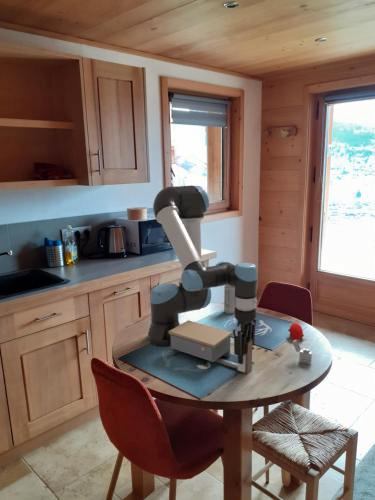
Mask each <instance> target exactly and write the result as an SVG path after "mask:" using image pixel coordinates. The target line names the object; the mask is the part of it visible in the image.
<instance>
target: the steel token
mask: <svg viewBox="0 0 375 500" xmlns="http://www.w3.org/2000/svg"><path fill="white" fill-rule="evenodd" d="M196 367H197V368H198V369H199V370H202V369H203V370H204V369H205V370H208V368H209V367H210V368H211V363H210V361H208V360H201V361H199V362H197V363H196ZM210 368H209V369H210Z"/></svg>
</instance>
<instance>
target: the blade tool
mask: <svg viewBox="0 0 375 500" xmlns="http://www.w3.org/2000/svg"><path fill="white" fill-rule="evenodd" d="M252 347H253V346H252V340H251V339H248V338H246V343H245V353H244V354H245V355H246V364H245V372H242V371H239V370H238V360H237V362H233V361H229V360H226V359H224V358H223V359H222V358H221V357H220V358H219V359H217V360H216V362H215V363H217V362H218V363H217V364H220V363H221V365H223V364H224V365H223V366H226V367H229V368H233V369H236V371H237V372H238V373H242V374H245V375H248V374H249V373H251V372H252V370H253V350H252Z"/></svg>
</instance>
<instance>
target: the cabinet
mask: <svg viewBox="0 0 375 500" xmlns="http://www.w3.org/2000/svg"><path fill="white" fill-rule="evenodd" d="M169 334H171V345H170V355H172V356H174V355H176V354H177V353H179V352H181V353H185V354H189V355H190V356H194V357H197V358H200V359H204V360H205V361H208V362H213V363H214V362H215V361H216V360H217V359H219V358H221V357H222V356H224V357H226V358H231V336H233V331H228V330H226V329H220V328H217V327H214V326H211V325H207V324H204V323H203V324H202V323H199V322H195V321H191V320H189V319H188V320H186V321H185V322H183V323H181V324H180V325H179V326H177V327H175V328H174V329H172V330H170V331H169ZM215 363H216V362H215Z"/></svg>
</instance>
